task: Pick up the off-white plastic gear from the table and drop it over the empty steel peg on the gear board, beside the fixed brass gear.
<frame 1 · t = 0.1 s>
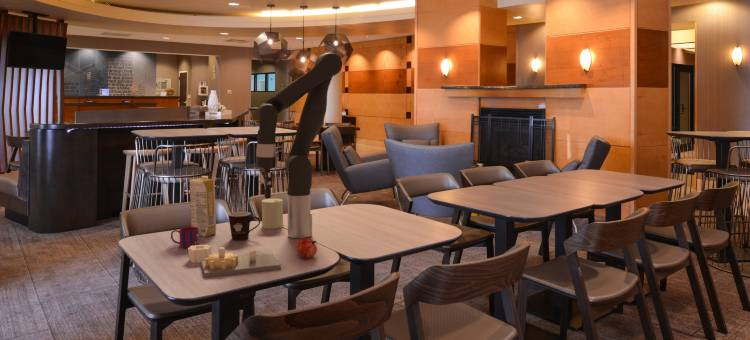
hand: (265, 196, 218), 17 cm above the table, tool pointing down, fingers open, 8 cm apart
loose gear: (200, 259, 192), on the table
juice carton: (204, 234, 227), on the table
gear board: (240, 266, 185), on the table
can: (272, 226, 241), on the table
cup: (185, 246, 209), on the table
pomegranate: (305, 258, 196), on the table
coffee mug: (243, 239, 220), on the table
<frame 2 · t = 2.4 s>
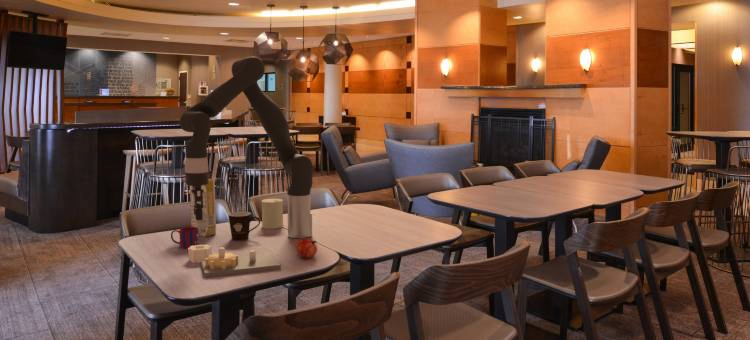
hand: (198, 217, 190), 15 cm above the table, tool pointing down, fingers open, 8 cm apart
nothing on the table moved.
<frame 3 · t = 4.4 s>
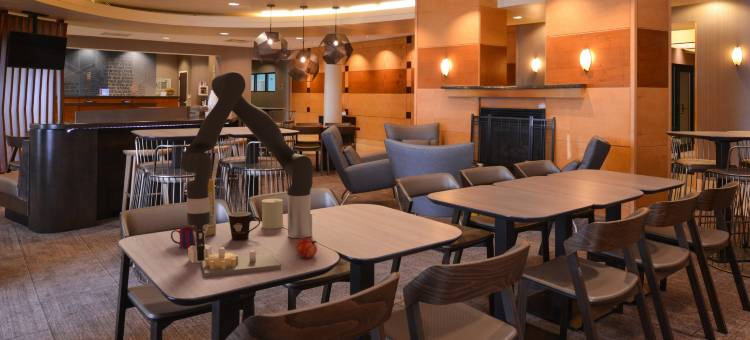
hand: (200, 257, 192), 1 cm above the table, tool pointing down, fingers closed on loose gear, 6 cm apart
loose gear: (200, 259, 192), on the table, touching gripper
everything else where it was.
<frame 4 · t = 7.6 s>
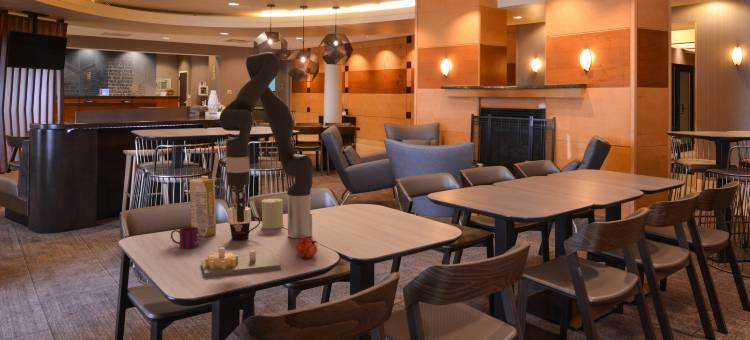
hand: (239, 219, 185), 15 cm above the table, tool pointing down, fingers closed on loose gear, 6 cm apart
loose gear: (239, 221, 186), point 15 cm above the table, touching gripper
everything else where it was.
when the fingers open (4 cm above the table, at t = 10.6 s): loose gear drops 1 cm, resting on gear board.
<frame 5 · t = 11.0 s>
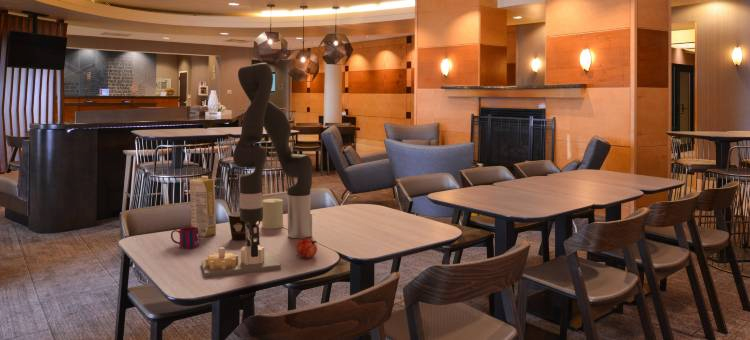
hand: (252, 253, 186), 4 cm above the table, tool pointing down, fingers open, 8 cm apart
loose gear: (252, 261, 186), point 1 cm above the table, touching gear board
everything else where it was.
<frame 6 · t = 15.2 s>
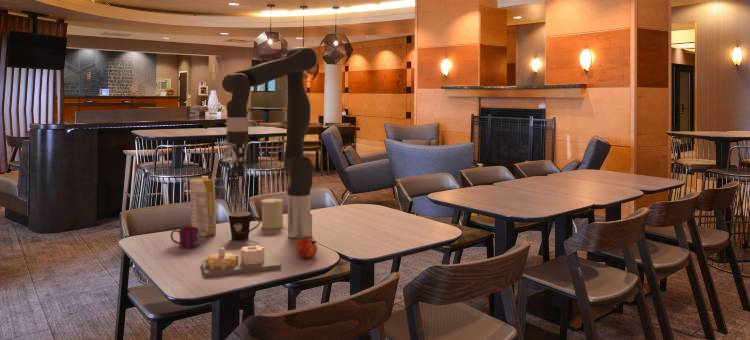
hand: (238, 174, 201), 28 cm above the table, tool pointing down, fingers open, 8 cm apart
nothing on the table moved.
at the end: loose gear 0.1 cm from the target spot on the gear board, point 1.5 cm above the gear board's base; loose gear tilted 0°; the gripper is holding nothing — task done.
